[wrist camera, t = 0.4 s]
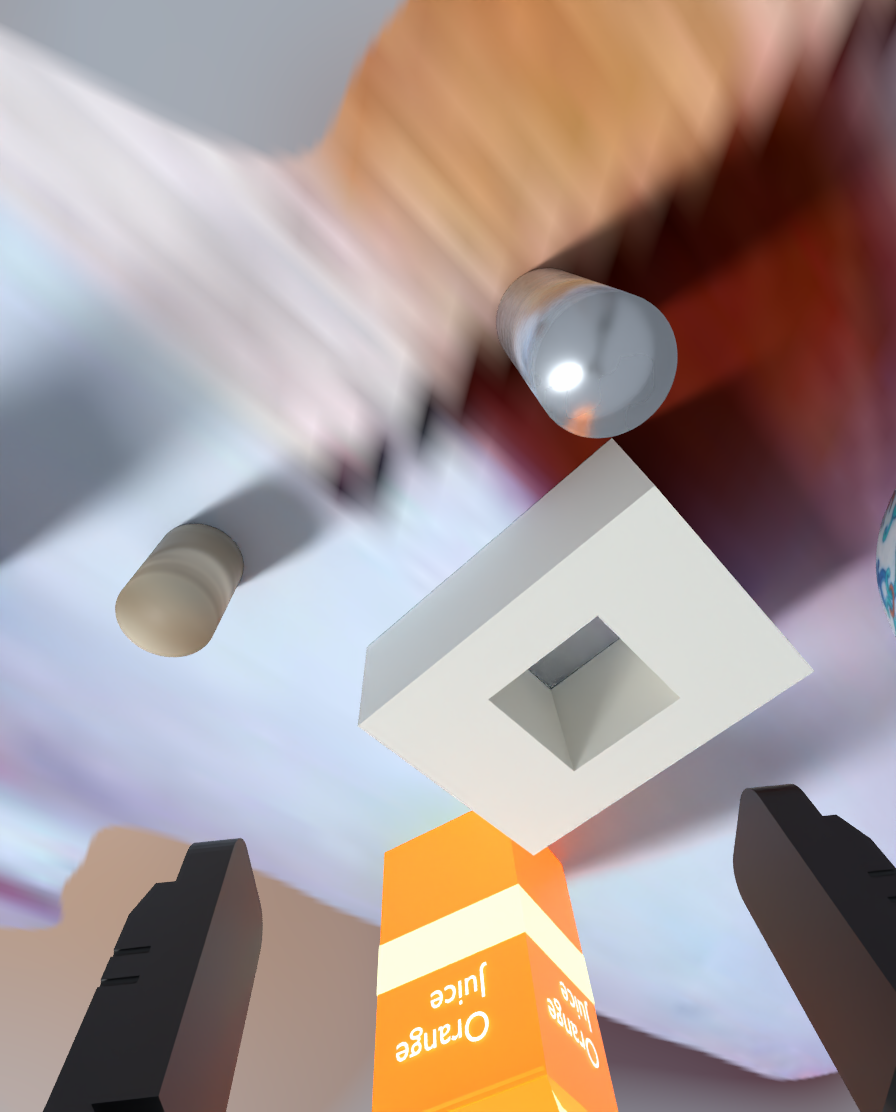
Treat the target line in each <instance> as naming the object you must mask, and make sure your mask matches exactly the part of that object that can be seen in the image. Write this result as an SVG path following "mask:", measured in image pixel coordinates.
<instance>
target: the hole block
mask: <svg viewBox="0 0 896 1112" xmlns="http://www.w3.org/2000/svg"><path fill="white" fill-rule="evenodd" d="M597 616H598V617H599V618H600V619H601V620H602V621H603V622H604V623H605V624H606V625H607V626H608V627H609V628H610V629H611V630H612V631H613V632H614V633H615V634H616V635H617V636H618V637H619V638H620V639H618V640H617V641H616V642H614V643H613V644H612V645H610V646H609V647H608V648H606V649H605V650H604V651H602V652H601V653H599V654H598V655H597V656H595V657H594V658H593V659H591V660H590V661H589V662H587V663H586V664H585V665H583V666H582V667H581V668H579V669H578V670H577V671H575V672H574V673H573V674H571V675H570V676H569V677H567V678H566V679H564V680H563V681H562V682H560V683H559V684H558V685H556V686H555V687H554V688H552V689H551V690H550V689H549V688H548V687H547V686H546V685H545V684H544V683H542V682H541V681H540V680H539V679H538V678H537V677H536V676H535V675H533V674H532V673H531V672H530V671H529V670H528V669H529V668H530V667H531V666H533V665H534V664H535V663H537V662H538V661H539V660H540V659H542V658H543V657H544V656H546V655H547V654H548V653H550V652H551V651H552V650H554V649H555V648H556V647H557V646H559V645H560V644H561V643H563V642H564V641H565V640H567V639H568V638H569V637H571V636H572V635H573V634H575V633H576V632H577V631H578V630H580V629H581V628H582V627H584V626H585V625H586V624H588V623H589V622H590V621H592V620H593V619H594V618H595V617H597ZM813 672H814V670H813V669H812V668H811V667H810V666H809V664H808V663H807V662H806V661H805V660H804V659H803V657H802V656H801V655H800V654H799V653H798V652H797V650H796V649H795V648H794V647H793V646H792V645H791V643H790V642H789V641H788V640H787V639H786V638H785V636H784V635H783V634H782V633H781V632H780V631H779V629H778V628H777V627H776V626H775V625H774V624H773V622H772V621H771V620H770V619H769V618H768V617H767V616H766V614H765V613H764V612H763V611H762V610H761V609H760V607H759V606H758V605H757V604H756V603H755V602H754V600H753V599H752V598H751V597H750V596H749V595H748V593H747V592H746V591H745V590H744V589H743V588H742V586H741V585H740V584H739V583H738V582H737V581H736V579H735V578H734V577H733V576H732V575H731V574H730V572H729V571H728V570H727V569H726V568H725V567H724V565H723V564H722V563H721V562H720V561H719V560H718V558H717V557H716V556H715V555H714V554H713V553H712V551H711V550H710V549H709V548H708V547H707V546H706V545H705V543H704V542H703V541H702V540H701V539H700V538H699V536H698V535H697V534H696V533H695V532H694V531H693V529H692V528H691V527H690V526H689V525H688V524H687V522H686V521H685V520H684V519H683V518H682V517H681V515H680V514H679V513H678V512H677V511H676V510H675V508H674V507H673V506H672V505H671V504H670V503H669V501H668V500H667V499H666V498H665V497H664V496H663V494H662V493H661V492H660V491H659V490H658V489H657V487H656V486H655V485H654V484H653V483H652V482H651V481H650V480H649V479H648V477H647V476H646V475H645V474H644V473H643V472H642V471H641V470H640V469H639V467H638V466H637V465H636V464H635V463H634V462H633V461H632V460H631V459H630V457H629V456H628V455H627V454H626V453H625V452H624V451H623V450H622V449H621V447H620V446H619V445H618V444H617V443H616V442H615V441H614V440H613V439H612V438H611V439H610V440H609V441H608V442H607V443H606V444H604V445H603V446H602V447H601V448H600V449H599V450H597V451H596V452H595V453H594V454H593V455H592V456H590V457H589V458H588V459H587V460H586V461H585V462H583V463H582V464H581V465H580V466H579V467H577V468H576V469H575V470H574V471H573V472H572V473H570V474H569V475H568V476H567V477H566V478H565V479H563V480H562V481H561V482H560V483H559V484H558V485H556V486H555V487H554V488H553V489H552V490H551V491H549V492H548V493H547V494H546V495H545V496H544V497H542V498H541V499H540V500H539V501H538V502H536V503H535V504H534V505H533V506H532V507H531V508H529V509H528V510H527V511H526V512H525V513H524V514H522V515H521V516H520V517H519V518H518V519H517V520H515V521H514V522H513V523H512V524H511V525H510V526H508V527H507V528H506V529H505V530H504V531H503V532H501V533H500V534H499V535H498V536H497V537H495V538H494V539H493V540H492V541H491V542H490V543H488V544H487V545H486V546H485V547H484V548H483V549H481V550H480V551H479V552H478V553H477V554H476V555H474V556H473V557H472V558H471V559H470V560H469V561H467V562H466V563H465V564H464V565H463V566H462V567H460V568H459V569H458V570H457V571H456V572H454V573H453V574H452V575H451V576H450V577H449V578H447V579H446V580H445V581H444V582H443V583H442V584H440V585H439V586H438V587H437V588H436V589H435V590H433V591H432V592H431V593H430V594H429V595H428V596H426V597H425V598H424V599H423V600H422V601H421V602H419V603H418V604H417V605H416V606H415V607H413V608H412V609H411V610H410V611H409V612H408V613H406V614H405V615H404V616H403V617H402V618H401V619H399V620H398V621H397V622H396V623H395V624H394V625H392V626H391V627H390V628H389V629H388V630H387V631H385V632H384V633H383V634H382V635H381V636H380V637H378V638H377V639H376V640H375V641H374V642H372V643H371V644H370V645H369V646H368V647H367V650H366V659H365V668H364V676H363V685H362V694H361V703H360V711H359V720H358V727H360V728H361V729H362V730H364V731H365V732H367V733H368V734H369V735H371V736H372V737H373V738H375V739H376V740H377V741H379V742H380V743H381V744H383V745H384V746H386V747H387V748H388V749H390V750H391V751H392V752H394V753H395V754H396V755H398V756H399V757H400V758H402V759H403V760H405V761H406V762H407V763H409V764H410V765H411V766H413V767H414V768H415V769H417V770H418V771H419V772H421V773H422V774H424V775H425V776H426V777H428V778H429V779H430V780H432V781H433V782H434V783H436V784H437V785H438V786H440V787H441V788H443V789H444V790H445V791H447V792H448V793H449V794H451V795H452V796H453V797H455V798H456V799H457V800H459V801H460V802H462V803H463V804H464V805H466V806H467V807H468V808H470V809H471V810H472V811H474V812H475V813H476V814H478V815H479V816H481V817H482V818H483V819H485V820H486V821H487V822H489V823H490V824H491V825H493V826H494V827H495V828H497V829H498V830H500V831H501V832H502V833H504V834H505V835H506V836H508V837H509V838H510V839H512V840H513V841H514V842H516V843H517V844H519V845H520V846H521V847H523V848H524V849H525V850H527V851H528V852H529V853H531V854H532V855H533V856H534V855H535V854H537V853H538V852H540V851H541V850H543V849H544V848H546V847H548V846H549V845H551V844H552V843H554V842H555V841H557V840H558V839H560V838H561V837H563V836H564V835H566V834H567V833H569V832H570V831H572V830H573V829H575V828H576V827H578V826H579V825H581V824H583V823H584V822H586V821H587V820H589V819H590V818H592V817H593V816H595V815H596V814H598V813H599V812H601V811H602V810H604V809H605V808H607V807H608V806H610V805H611V804H613V803H615V802H616V801H618V800H619V799H621V798H622V797H624V796H625V795H627V794H628V793H630V792H631V791H633V790H634V789H636V788H637V787H639V786H640V785H642V784H643V783H645V782H647V781H648V780H650V779H651V778H653V777H654V776H656V775H657V774H659V773H660V772H662V771H663V770H665V769H666V768H668V767H669V766H671V765H672V764H674V763H675V762H677V761H679V760H680V759H682V758H683V757H685V756H686V755H688V754H689V753H691V752H692V751H694V750H695V749H697V748H698V747H700V746H701V745H703V744H704V743H706V742H707V741H709V740H711V739H712V738H714V737H715V736H717V735H718V734H720V733H721V732H723V731H724V730H726V729H727V728H729V727H730V726H732V725H733V724H735V723H736V722H738V721H739V720H741V719H742V718H744V717H746V716H747V715H749V714H750V713H752V712H753V711H755V710H756V709H758V708H759V707H761V706H762V705H764V704H765V703H767V702H768V701H770V700H771V699H773V698H774V697H776V696H778V695H779V694H781V693H782V692H784V691H785V690H787V689H788V688H790V687H791V686H793V685H794V684H796V683H797V682H799V681H800V680H802V679H803V678H805V677H806V676H808V675H810V674H811V673H813Z"/></svg>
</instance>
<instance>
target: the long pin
mask: <svg viewBox="0 0 896 1112" xmlns="http://www.w3.org/2000/svg"><path fill="white" fill-rule="evenodd" d="M496 329H497V335H498V338H499V341H500V343H501V346H502V347H503V349H504V351H505V352H506V354H507V355H508V357H509V358H510V359H511V361H512V362H513V364H514V365H515V367H516V368H517V370H518V371H519V373H520V374H521V376H522V377H523V379H524V380H525V381H526V383H527V384H528V386H529V387H530V389H531V390H532V392H533V393H534V395H535V396H536V398H537V399H538V401H539V402H540V403H541V405H542V406H543V408H544V409H545V411H546V412H547V413H548V415H549V416H550V417H551V418H552V419H553V420H554V421H555V422H556V423H557V424H558V425H559V426H561V427H562V428H564V429H565V430H567V431H569V432H571V433H573V434H576V435H579V436H583V437H588V438H607V437H613V436H617V435H620V434H623V433H626V432H628V431H630V430H632V429H634V428H636V427H637V426H639V425H641V424H642V423H643V422H644V421H646V420H647V419H648V418H649V417H650V416H651V415H652V414H654V413H655V411H656V410H657V409H658V408H659V407H660V405H661V404H662V402H663V401H664V399H665V398H666V396H667V394H668V392H669V390H670V388H671V386H672V383H673V380H674V377H675V373H676V367H677V346H676V340H675V337H674V333H673V331H672V329H671V326H670V324H669V323H668V321H667V320H666V318H665V316H664V315H663V314H662V313H661V312H660V311H659V310H658V309H657V308H656V307H655V306H654V305H653V304H651V303H650V302H648V301H646V300H645V299H643V298H641V297H638V296H636V295H633V294H630V293H627V292H624V291H621V290H618V289H615V288H612V287H610V286H607V285H604V284H601V283H598V282H595V281H592V280H589V279H586V278H583V277H580V276H577V275H574V274H571V273H568V272H565V271H562V270H559V269H554V268H541V269H536V270H533V271H530V272H528V273H526V274H524V275H522V276H521V277H519V278H518V279H517V280H515V281H514V282H513V283H512V284H511V285H510V286H509V288H508V289H507V290H506V292H505V293H504V295H503V297H502V299H501V301H500V304H499V306H498V310H497V316H496Z"/></svg>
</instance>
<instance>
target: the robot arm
mask: <svg viewBox="0 0 896 1112" xmlns="http://www.w3.org/2000/svg"><path fill="white" fill-rule="evenodd" d="M733 868H734V874H735V879H736V883H737V886H738V889H739V892H740V895H741V897H742V899H743V901H744V903H745V905H746V907H747V908H748V910H749V912H750V914H751V916H752V917H753V919H754V921H755V923H756V925H757V926H758V928H759V930H760V932H761V934H762V935H763V937H764V939H765V941H766V943H767V944H768V946H769V948H770V950H771V952H772V953H773V955H774V957H775V959H776V961H777V962H778V964H779V966H780V968H781V970H782V971H783V973H784V975H785V977H786V979H787V980H788V982H789V984H790V986H791V988H792V989H793V991H794V993H795V995H796V997H797V998H798V1000H799V1002H800V1004H801V1006H802V1007H803V1009H804V1011H805V1013H806V1015H807V1016H808V1018H809V1020H810V1022H811V1024H812V1025H813V1027H814V1029H815V1031H816V1033H817V1034H818V1036H819V1038H820V1040H821V1042H822V1043H823V1045H824V1047H825V1049H826V1051H827V1052H828V1054H829V1056H830V1058H831V1060H832V1061H833V1063H834V1065H835V1067H836V1069H837V1070H838V1072H839V1074H840V1076H841V1078H842V1079H843V1081H844V1083H845V1085H846V1086H847V1088H848V1090H849V1092H850V1094H851V1096H852V1097H853V1099H854V1101H855V1102H856V1105H857V1106H858V1108H859V1110H860V1112H896V868H895V867H894V866H893V864H892V863H891V862H890V861H889V860H888V859H887V857H886V856H885V855H884V854H883V853H882V851H881V850H880V849H879V848H878V847H877V846H876V844H875V843H874V842H873V841H872V840H871V839H870V838H869V837H867V836H866V835H865V834H863V833H862V832H860V831H859V830H857V829H856V828H855V827H853V826H852V825H850V824H849V823H847V822H846V821H845V820H843V819H842V818H840V817H839V816H837V815H829V816H822V815H821V814H820V812H819V811H818V810H817V809H816V807H815V806H814V805H813V804H812V802H811V801H810V800H809V799H808V797H807V796H806V795H805V793H804V792H803V791H802V790H801V789H800V788H799V787H798V786H796V785H794V784H785V785H775V786H765V787H756V788H747V789H745V790H744V791H743V792H742V794H741V799H740V806H739V814H738V822H737V830H736V838H735V846H734V854H733ZM261 942H262V910H261V904H260V900H259V896H258V892H257V888H256V884H255V879H254V875H253V871H252V867H251V863H250V859H249V855H248V851H247V847H246V844H245V842H244V840H243V839H242V838H238V839H228V840H218V841H208V842H199V843H193V844H192V845H191V846H190V847H189V849H188V851H187V853H186V856H185V859H184V861H183V864H182V866H181V869H180V872H179V874H178V877H177V880H176V881H174V882H164V883H156V884H155V885H154V886H153V887H152V889H151V890H150V891H149V892H148V893H147V894H146V896H145V897H144V898H143V899H142V900H141V901H140V903H139V904H138V905H137V906H136V907H135V908H134V909H133V911H132V912H131V913H130V914H129V916H128V918H127V921H126V923H125V925H124V928H123V930H122V932H121V934H120V937H119V939H118V941H117V944H116V946H115V948H114V955H113V957H111V958H110V960H109V962H108V964H107V967H106V969H105V971H104V973H103V976H102V978H101V985H100V987H98V988H97V989H96V992H95V994H94V996H93V999H92V1001H91V1003H90V1005H89V1008H88V1010H87V1012H86V1015H85V1017H84V1019H83V1022H82V1024H81V1026H80V1028H79V1031H78V1033H77V1035H76V1037H75V1040H74V1042H73V1044H72V1047H71V1049H70V1051H69V1054H68V1056H67V1058H66V1061H65V1063H64V1065H63V1067H62V1070H61V1072H60V1074H59V1077H58V1079H57V1082H56V1083H55V1086H54V1088H53V1090H52V1093H51V1095H50V1097H49V1100H48V1102H47V1104H46V1106H45V1108H44V1110H43V1112H226V1108H227V1104H228V1099H229V1094H230V1090H231V1085H232V1081H233V1076H234V1071H235V1067H236V1062H237V1057H238V1053H239V1048H240V1043H241V1039H242V1034H243V1029H244V1024H245V1020H246V1015H247V1011H248V1006H249V1001H250V996H251V992H252V987H253V983H254V978H255V973H256V969H257V964H258V959H259V954H260V949H261Z"/></svg>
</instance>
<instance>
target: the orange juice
mask: <svg viewBox="0 0 896 1112" xmlns="http://www.w3.org/2000/svg"><path fill="white" fill-rule="evenodd" d="M377 996H378V1000H377V1020H376V1040H375V1062H374V1082H373V1103H372V1112H618V1109H617V1104H616V1100H615V1096H614V1092H613V1087H612V1082H611V1078H610V1073H609V1069H608V1065H607V1060H606V1056H605V1052H604V1047H603V1043H602V1038H601V1034H600V1029H599V1025H598V1021H597V1016H596V1012H595V1007H594V1005H595V1003H594V999H593V994H592V990H591V986H590V981H589V977H588V972H587V968H586V964H585V959H584V956H583V955H582V950H581V946H580V941H579V937H578V933H577V928H576V924H575V919H574V915H573V911H572V906H571V902H570V897H569V893H568V889H567V884H566V880H565V875H564V871H563V867H562V864H561V863H560V861H559V860H558V859H557V858H556V857H555V855H554V854H553V853H552V852H551V851H550V849H549V848H548V847H546V848H544V849H543V850H541V851H540V852H538V853H537V854H535V855H534V856H533V855H532V854H531V853H529V852H528V851H527V850H525V849H524V848H523V847H521V846H520V845H519V844H517V843H516V842H514V841H513V840H512V839H510V838H509V837H508V836H506V835H505V834H504V833H502V832H501V831H500V830H498V829H497V828H495V827H494V826H493V825H491V824H490V823H489V822H487V821H486V820H485V819H483V818H482V817H481V816H479V815H478V814H476V813H475V812H474V811H470V812H468V813H466V814H464V815H462V816H460V817H458V818H456V819H454V820H452V821H450V822H447V823H445V824H443V825H441V826H439V827H437V828H435V829H433V830H431V831H429V832H427V833H425V834H423V835H421V836H418V837H416V838H414V839H412V840H410V841H408V842H406V843H404V844H402V845H400V846H398V847H396V848H394V849H392V850H390V851H387V852H385V857H384V877H383V897H382V918H381V938H380V946H379V959H378V978H377Z"/></svg>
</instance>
